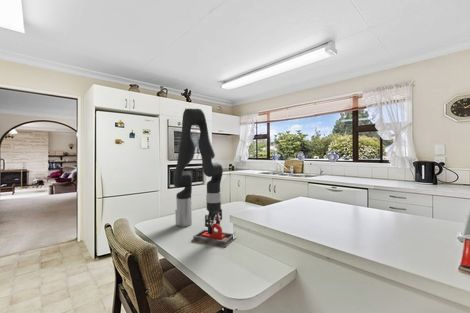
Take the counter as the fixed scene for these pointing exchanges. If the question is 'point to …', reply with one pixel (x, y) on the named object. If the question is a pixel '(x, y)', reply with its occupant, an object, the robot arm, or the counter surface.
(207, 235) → the bracket
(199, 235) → the plate
